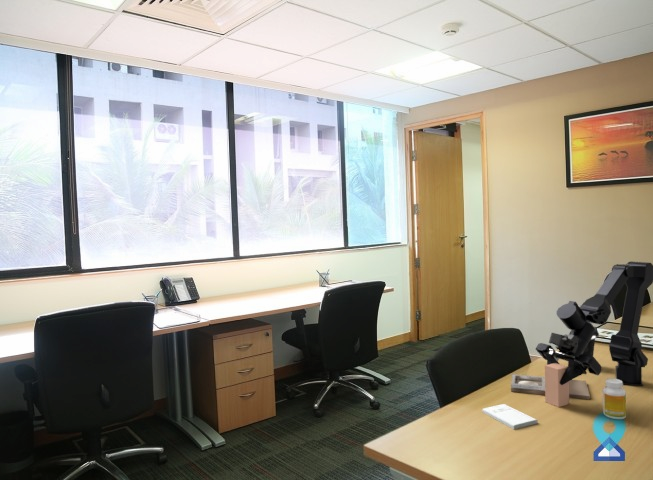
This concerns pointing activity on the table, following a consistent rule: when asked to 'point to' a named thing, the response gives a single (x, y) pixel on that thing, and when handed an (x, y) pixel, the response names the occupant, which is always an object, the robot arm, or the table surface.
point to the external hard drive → (509, 416)
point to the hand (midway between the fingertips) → (553, 381)
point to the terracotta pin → (556, 385)
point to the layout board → (538, 386)
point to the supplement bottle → (614, 399)
